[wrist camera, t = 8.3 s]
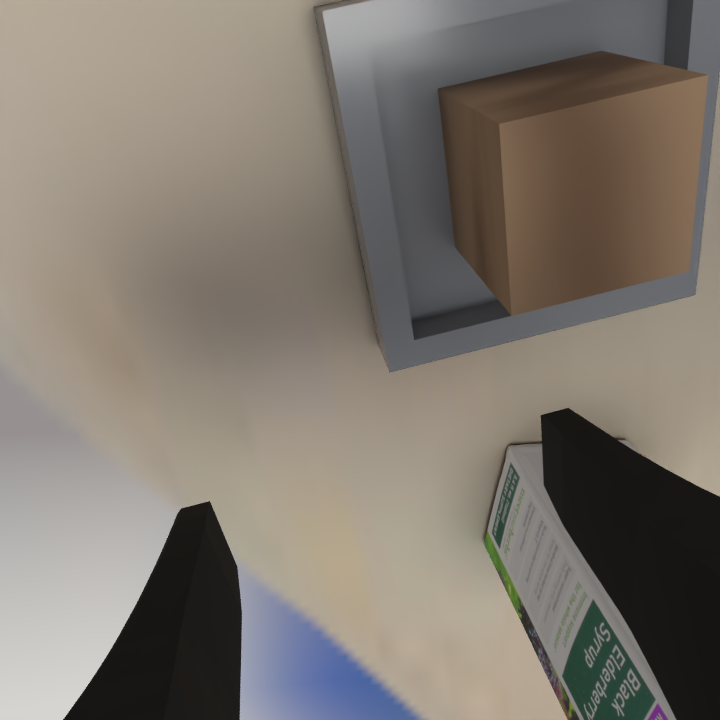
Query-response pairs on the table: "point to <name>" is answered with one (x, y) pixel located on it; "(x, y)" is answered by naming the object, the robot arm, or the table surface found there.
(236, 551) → the table surface
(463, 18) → the grey dish
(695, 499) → the robot arm
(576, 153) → the walnut cube
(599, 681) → the syrup box
